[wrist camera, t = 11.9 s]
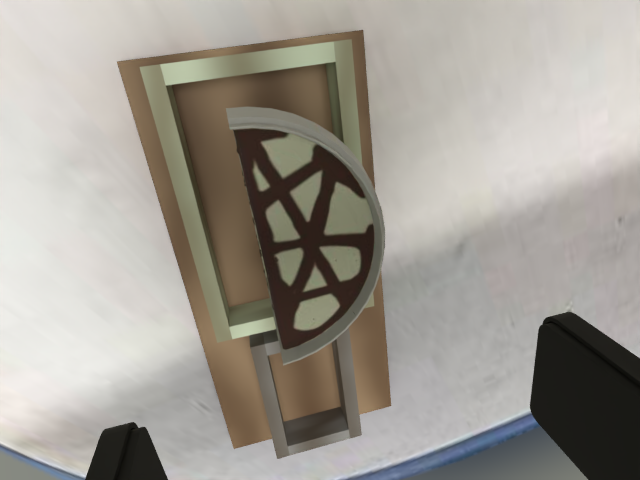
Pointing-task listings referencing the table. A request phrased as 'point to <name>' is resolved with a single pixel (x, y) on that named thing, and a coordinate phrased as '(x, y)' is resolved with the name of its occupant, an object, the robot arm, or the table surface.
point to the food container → (309, 225)
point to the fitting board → (240, 236)
